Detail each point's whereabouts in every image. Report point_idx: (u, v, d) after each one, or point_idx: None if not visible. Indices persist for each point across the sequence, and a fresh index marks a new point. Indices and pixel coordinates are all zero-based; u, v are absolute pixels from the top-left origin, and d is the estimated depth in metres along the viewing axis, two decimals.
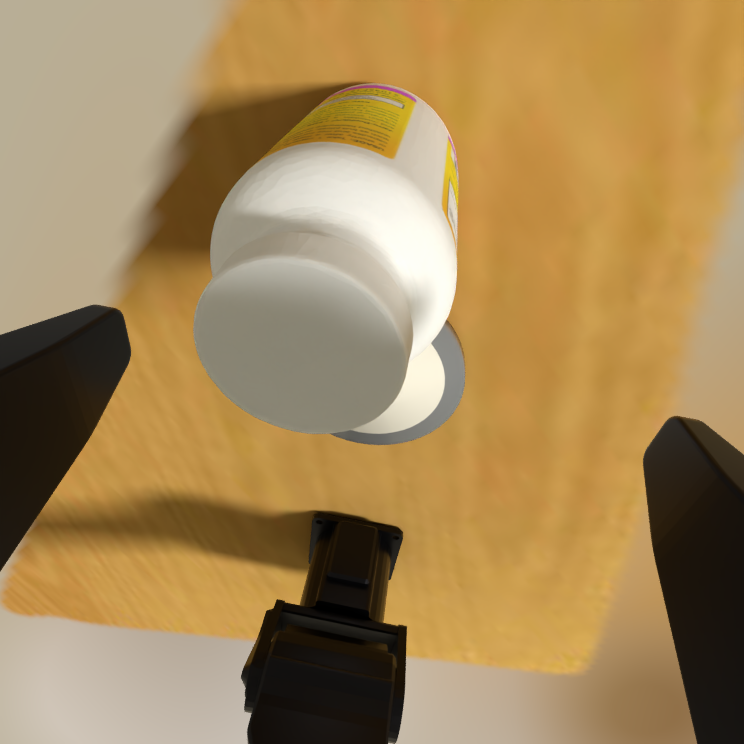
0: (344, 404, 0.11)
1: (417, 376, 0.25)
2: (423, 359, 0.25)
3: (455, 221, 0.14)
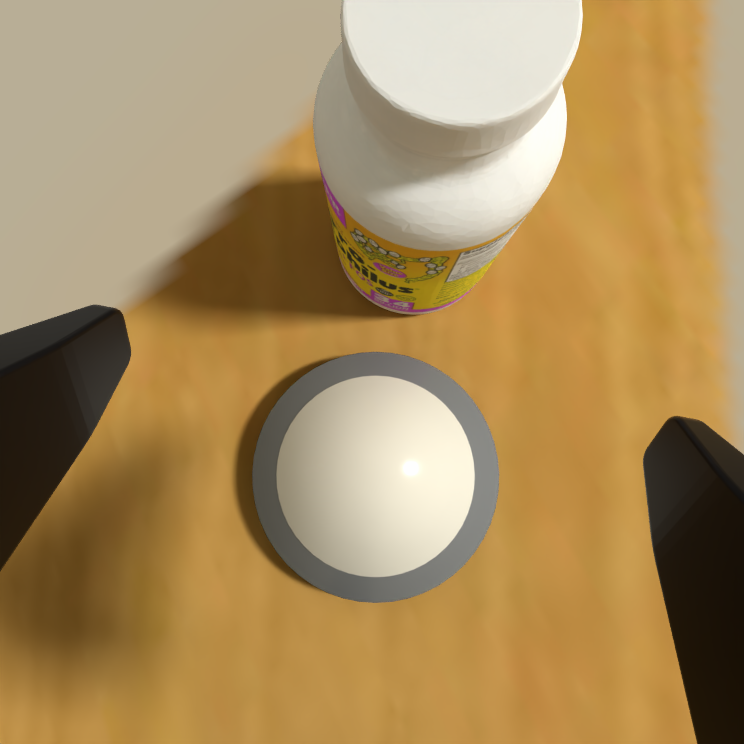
0: (505, 73, 0.09)
1: (441, 472, 0.20)
2: (448, 446, 0.20)
3: None
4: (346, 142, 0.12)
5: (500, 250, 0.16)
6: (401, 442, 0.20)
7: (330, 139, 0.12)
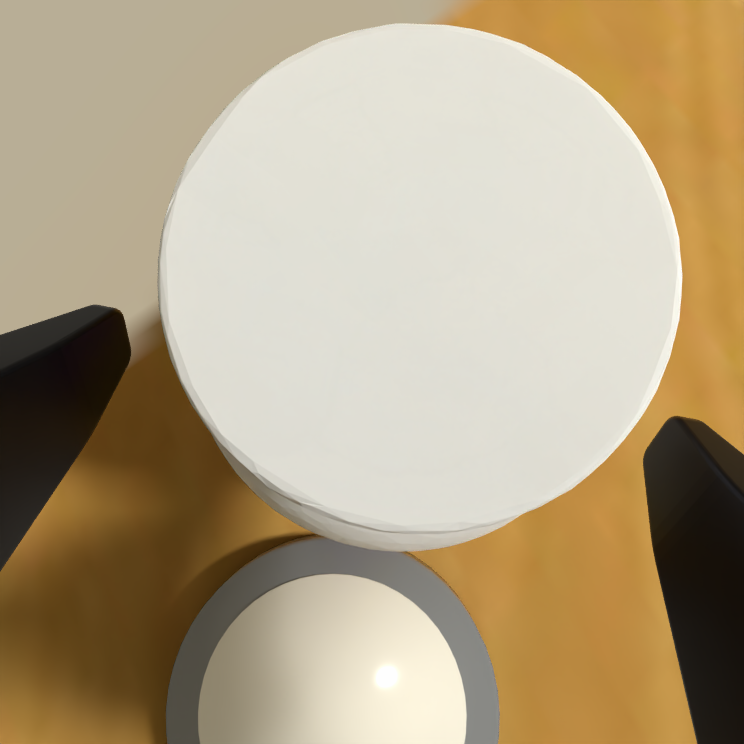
0: (515, 414, 0.04)
1: (420, 712, 0.15)
2: (431, 673, 0.15)
3: None
4: None
5: None
6: (368, 668, 0.15)
7: None
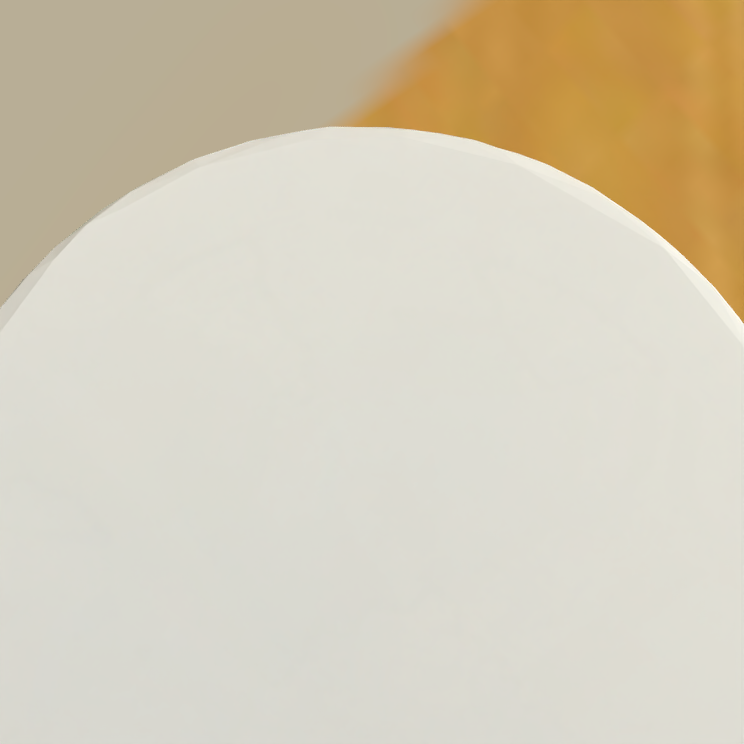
0: None
1: None
2: None
3: None
4: None
5: None
6: None
7: None
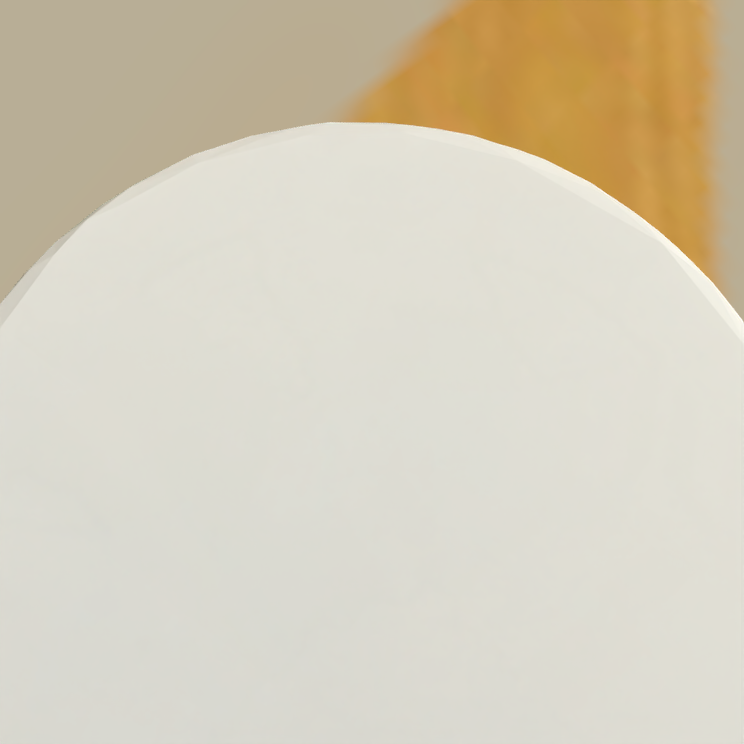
0: None
1: None
2: None
3: None
4: None
5: None
6: None
7: None
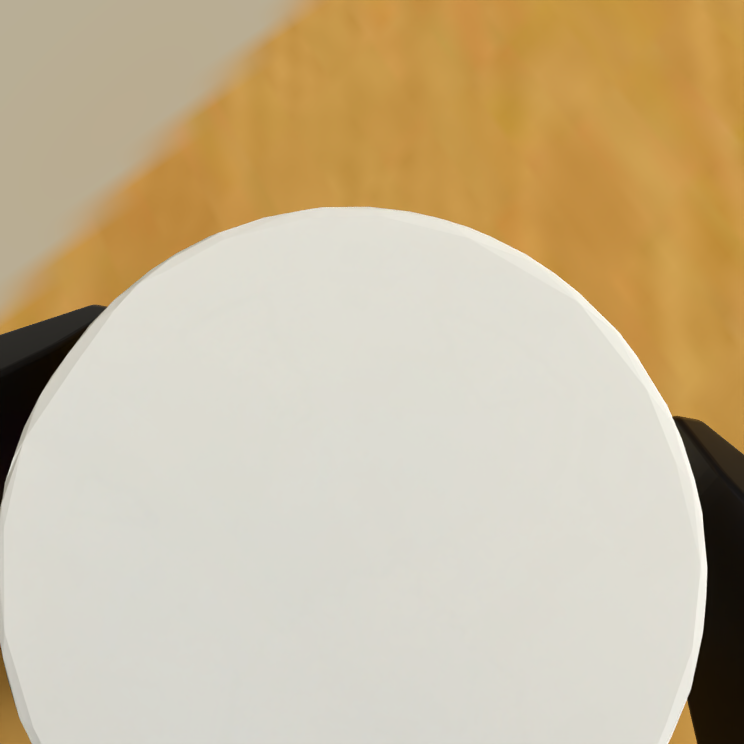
0: None
1: None
2: None
3: None
4: None
5: None
6: None
7: None
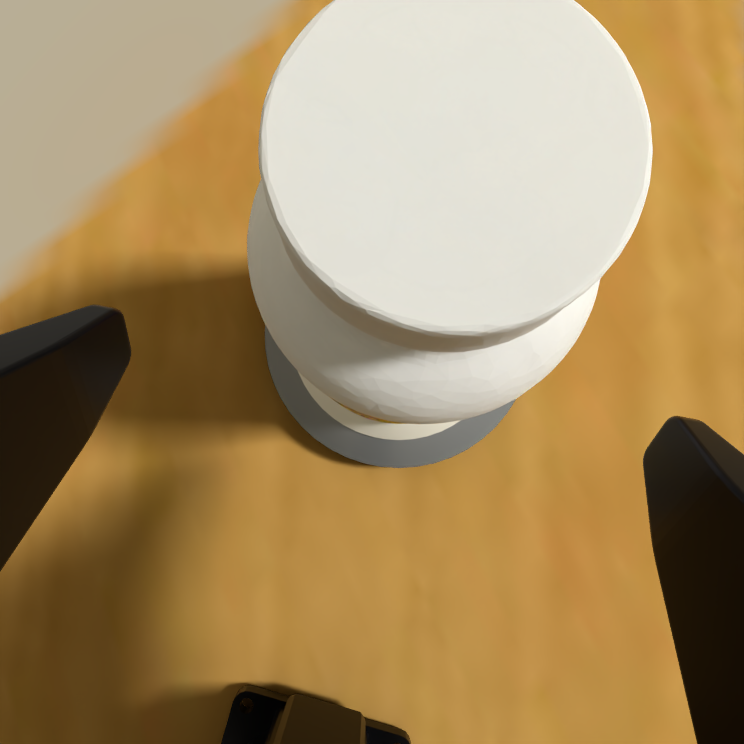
0: (526, 248, 0.06)
1: None
2: None
3: None
4: (287, 289, 0.08)
5: None
6: None
7: (265, 280, 0.08)
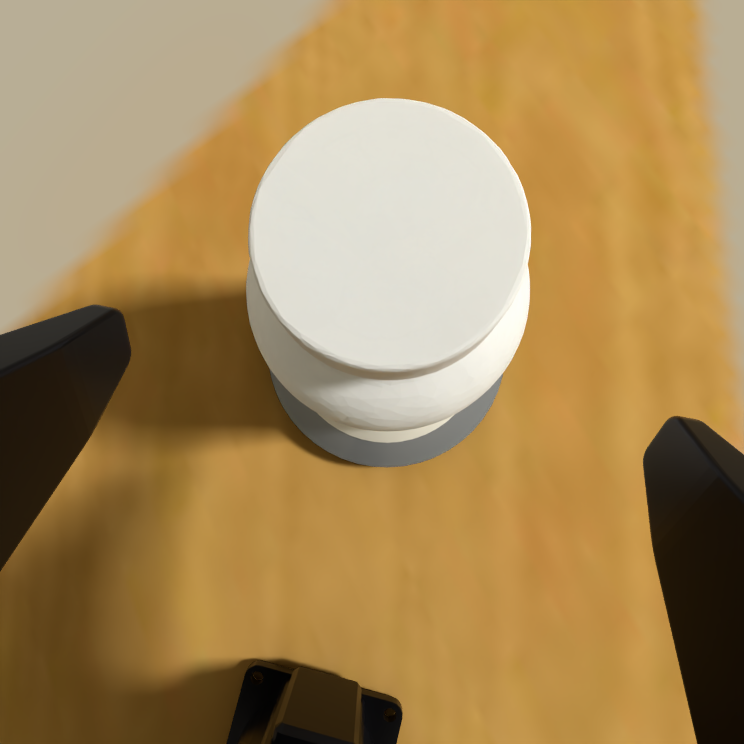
0: (437, 309, 0.08)
1: None
2: None
3: None
4: (276, 328, 0.11)
5: None
6: None
7: (260, 320, 0.11)
